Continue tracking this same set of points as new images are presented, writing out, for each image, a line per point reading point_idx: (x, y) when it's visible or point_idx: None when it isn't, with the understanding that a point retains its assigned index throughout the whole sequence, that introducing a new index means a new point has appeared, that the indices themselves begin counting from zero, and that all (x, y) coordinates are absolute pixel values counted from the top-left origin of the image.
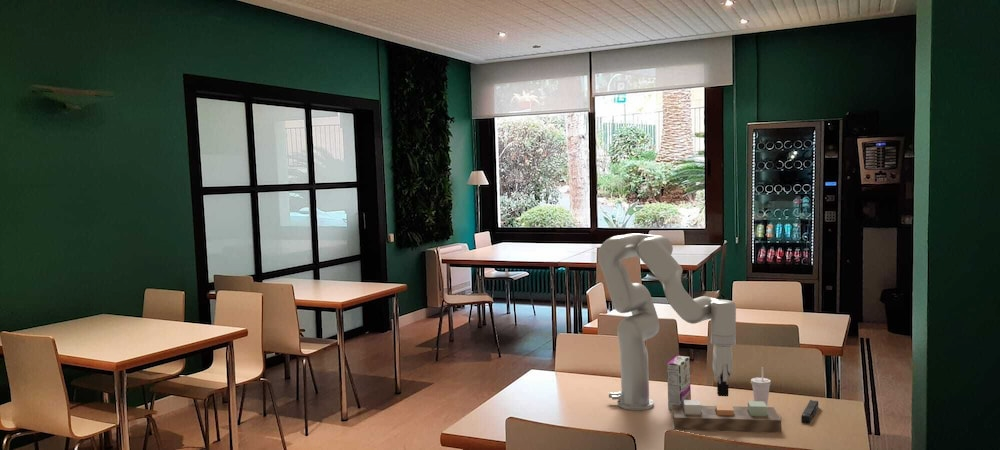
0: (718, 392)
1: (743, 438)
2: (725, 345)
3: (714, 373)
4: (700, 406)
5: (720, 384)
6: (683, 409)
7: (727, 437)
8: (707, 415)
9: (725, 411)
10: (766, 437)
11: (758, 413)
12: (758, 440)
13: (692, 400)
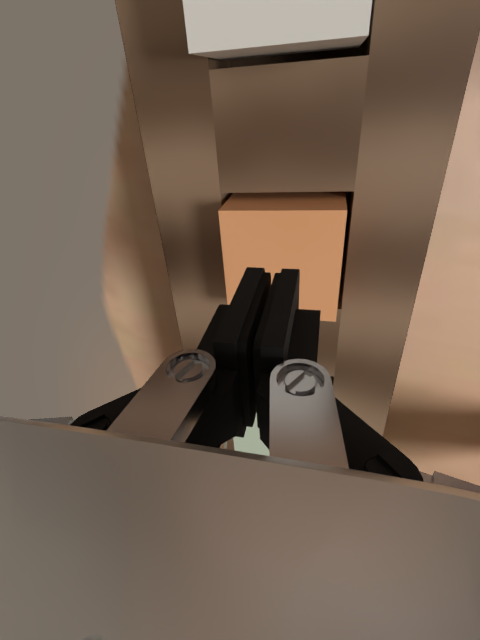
0: (241, 285)
1: (124, 281)
2: None
3: (41, 437)
4: (191, 48)
5: (220, 362)
6: None
7: (111, 214)
8: (199, 119)
9: (225, 262)
10: (161, 360)
11: None
12: (122, 329)
13: None
